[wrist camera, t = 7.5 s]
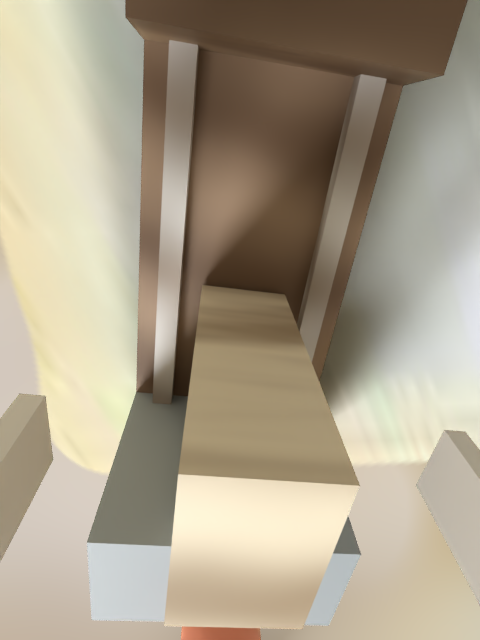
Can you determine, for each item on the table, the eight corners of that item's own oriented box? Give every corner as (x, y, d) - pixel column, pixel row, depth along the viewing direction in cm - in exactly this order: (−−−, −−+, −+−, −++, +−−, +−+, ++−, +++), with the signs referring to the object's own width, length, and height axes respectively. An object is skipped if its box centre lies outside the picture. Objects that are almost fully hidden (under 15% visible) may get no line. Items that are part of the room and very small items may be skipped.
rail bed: (156, -128, 13) (126, -247, 9) (430, -67, 14) (514, -148, 10) (139, 440, 24) (123, 501, 20) (290, 450, 25) (303, 511, 21)
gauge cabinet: (138, 376, 22) (81, 542, 13) (306, 390, 23) (360, 554, 14) (136, 439, 24) (86, 619, 15) (290, 450, 25) (328, 625, 16)
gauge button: (190, 527, 15) (181, 648, 12) (258, 530, 16) (269, 649, 12) (185, 568, 16) (175, 689, 13) (248, 571, 17) (255, 690, 13)
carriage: (202, 285, 18) (178, 474, 8) (284, 294, 18) (359, 485, 8) (191, 387, 20) (163, 625, 11) (264, 394, 21) (302, 629, 11)
